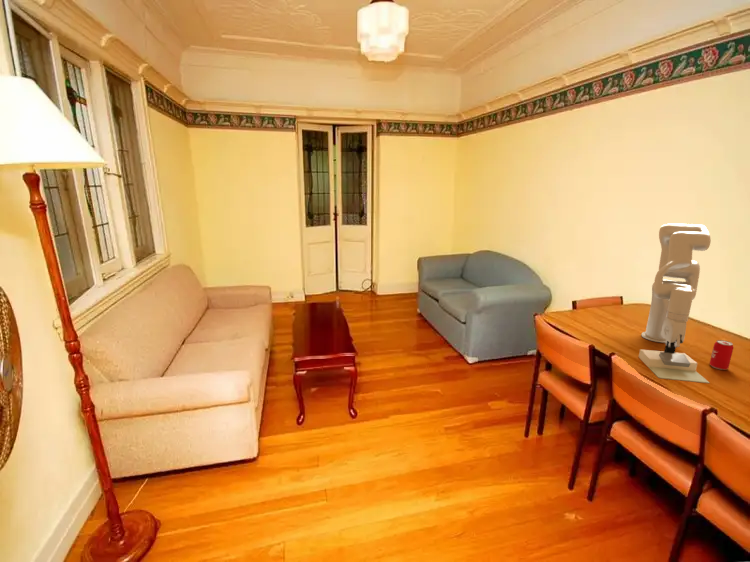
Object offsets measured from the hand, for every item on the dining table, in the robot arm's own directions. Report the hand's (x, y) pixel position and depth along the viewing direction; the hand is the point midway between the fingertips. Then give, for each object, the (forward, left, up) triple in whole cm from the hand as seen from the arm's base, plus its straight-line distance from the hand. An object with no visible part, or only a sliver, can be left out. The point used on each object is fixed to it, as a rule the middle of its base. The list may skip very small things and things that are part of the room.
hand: (668, 354), depth 165 cm
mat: (+9, 0, -5) cm, 11 cm away
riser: (-1, 0, -5) cm, 5 cm away
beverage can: (-3, +21, -5) cm, 22 cm away
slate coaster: (+4, 0, -1) cm, 4 cm away
